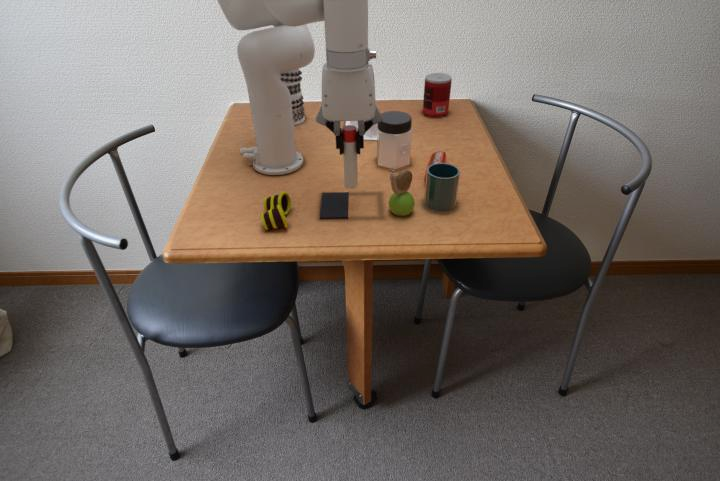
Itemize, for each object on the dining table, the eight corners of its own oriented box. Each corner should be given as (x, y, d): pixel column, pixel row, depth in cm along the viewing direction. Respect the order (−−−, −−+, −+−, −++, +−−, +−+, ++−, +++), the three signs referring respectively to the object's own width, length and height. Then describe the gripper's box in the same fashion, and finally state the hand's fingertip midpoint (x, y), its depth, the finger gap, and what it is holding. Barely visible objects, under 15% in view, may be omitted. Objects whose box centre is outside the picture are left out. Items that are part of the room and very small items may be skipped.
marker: (344, 189, 100) (342, 130, 92) (344, 182, 102) (342, 125, 94) (357, 188, 100) (356, 130, 92) (357, 182, 102) (356, 124, 94)
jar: (388, 173, 115) (389, 127, 108) (369, 161, 121) (369, 116, 114) (417, 164, 119) (420, 118, 112) (397, 151, 125) (399, 107, 117)
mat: (319, 219, 100) (319, 217, 100) (322, 194, 108) (322, 192, 108) (381, 218, 100) (381, 216, 100) (379, 193, 108) (379, 191, 108)
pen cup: (426, 213, 101) (429, 178, 96) (422, 196, 107) (425, 163, 102) (457, 213, 101) (462, 178, 96) (452, 196, 107) (456, 162, 102)
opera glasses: (270, 210, 104) (262, 191, 101) (293, 205, 104) (286, 186, 101) (265, 236, 97) (256, 216, 94) (290, 231, 96) (282, 211, 93)
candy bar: (432, 157, 122) (433, 147, 120) (446, 159, 121) (447, 148, 119) (422, 189, 109) (423, 177, 108) (438, 191, 109) (439, 179, 107)
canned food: (452, 111, 147) (456, 75, 140) (441, 119, 141) (445, 83, 135) (429, 106, 150) (432, 71, 143) (418, 114, 145) (420, 78, 138)
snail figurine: (379, 215, 101) (380, 165, 94) (399, 204, 104) (402, 154, 97) (398, 226, 98) (401, 175, 90) (419, 214, 101) (423, 163, 94)
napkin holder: (384, 139, 131) (384, 120, 127) (342, 139, 131) (342, 120, 128) (383, 118, 143) (384, 99, 139) (346, 118, 143) (345, 99, 140)
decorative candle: (271, 117, 144) (260, 29, 129) (300, 111, 147) (292, 25, 132) (280, 128, 138) (269, 37, 122) (310, 122, 141) (303, 33, 126)
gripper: (391, 51, 88) (389, 142, 99) (303, 52, 88) (311, 144, 99) (394, 63, 82) (391, 159, 93) (300, 65, 82) (308, 160, 93)
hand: (350, 150), depth 96 cm, fingers closed on marker, 2 cm apart
